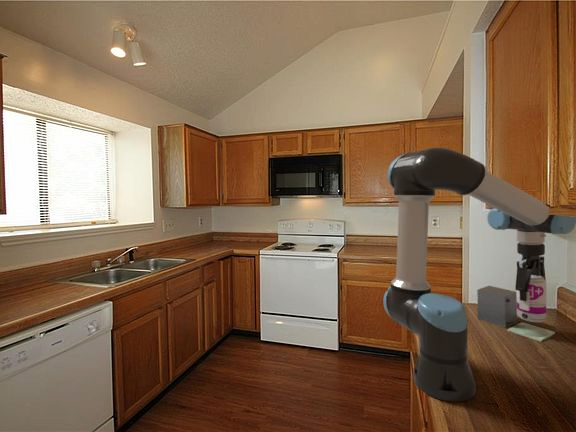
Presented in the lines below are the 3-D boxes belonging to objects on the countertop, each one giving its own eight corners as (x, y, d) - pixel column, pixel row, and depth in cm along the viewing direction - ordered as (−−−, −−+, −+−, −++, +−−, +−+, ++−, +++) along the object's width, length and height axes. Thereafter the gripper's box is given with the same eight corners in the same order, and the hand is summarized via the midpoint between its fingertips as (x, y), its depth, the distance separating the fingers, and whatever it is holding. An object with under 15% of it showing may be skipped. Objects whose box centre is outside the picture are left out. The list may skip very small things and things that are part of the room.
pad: (540, 341, 102) (540, 339, 102) (507, 330, 111) (507, 328, 111) (554, 333, 107) (554, 331, 107) (522, 323, 116) (522, 321, 116)
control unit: (506, 328, 113) (506, 296, 112) (477, 319, 122) (477, 289, 121) (518, 322, 117) (518, 292, 116) (489, 314, 126) (489, 285, 125)
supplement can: (547, 325, 103) (547, 281, 102) (516, 320, 108) (516, 278, 107) (545, 316, 109) (545, 275, 108) (516, 311, 114) (516, 272, 113)
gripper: (527, 248, 98) (528, 317, 100) (558, 240, 108) (558, 302, 110) (502, 245, 105) (503, 310, 107) (533, 237, 115) (533, 297, 117)
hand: (531, 306), depth 108 cm, fingers closed on supplement can, 8 cm apart
